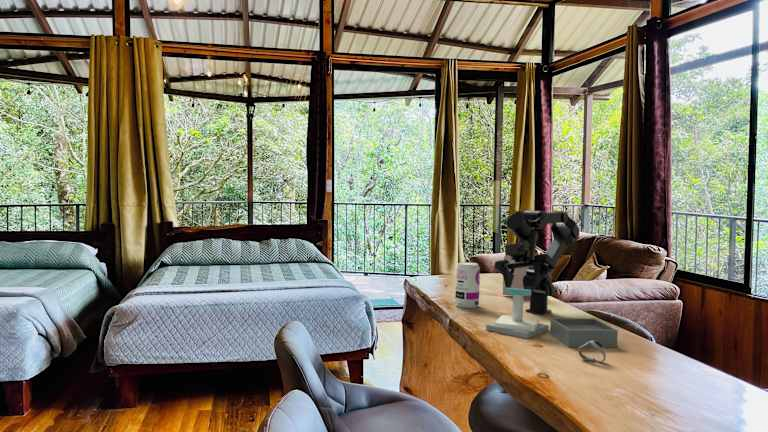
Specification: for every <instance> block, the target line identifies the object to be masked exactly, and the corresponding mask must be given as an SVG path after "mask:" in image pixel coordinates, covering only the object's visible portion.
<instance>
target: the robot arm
mask: <svg viewBox="0 0 768 432" xmlns="http://www.w3.org/2000/svg"><path fill="white" fill-rule="evenodd" d="M559 223H563V224H559ZM505 224H506V227H507V228H508V229H509V230H510V232H511V233H512V235H514V236H515V237H516V238H518V239H517V243H511V244H506V245H504V253H505V254H504V256H511V259H512V260H515V262H513V263H510V262H509V261H507V260H506V259H505V260H504V259H500V260H496V261H495V262H494V266H493V268H494V269H495V270H496V271H497V272H499V273H500V274H501V275H502V279H503V278H504V282H505V286H506V288H511V285H512V281H513V278H514V274H513V273H514V269H516V268H523V267H529V268H528V270H527V271H526V272H525V273H526V274H525V275H524V277H523V286H524V289H529V290H531V295H530V296H529V308H528V309H525V312H527V313H532V314H537V315H546V314H548V313H551V312H552V310H551V309H548V303H549V302H548V299H549V297H551V296H552V297H553V295H554V294H555V289H556V288H555V287H554V284H553V282H552V280H553V279H552V276H551V273H552V272H553V270H555V268H556V264H557V263H558V261H559V260H560V258H561V256H562V254H563V253H564V251H565V250H566V248H568V247H569V246H572V245H574V244H575V242H576V241H577V240H578V239H579V237H580V229H579V226H578V224H577V222H576V221H575V220H573V219H572V218H571V217H570V216H569V213H568V212H566V211H562V210H553V211H544V210H528V209H526V210H524V211H521V210H515V213H514V214H512V215H510V216H509V217H508V218H507V219H506V222H505ZM550 224H551V226H550V230H551V232H552V236H553V237H552V238H553V239H552V241H551V243H550V244H549V246H548V248H547V249H546V251H545V253H538V249H536V248H537V247H536V246H537V240H539V239H540V237H539V234H538V232H537V230H536V229H544V228H546V227H547V226H548V225H550Z"/></svg>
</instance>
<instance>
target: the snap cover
mask: <svg viewBox="0 0 768 432" xmlns="http://www.w3.org/2000/svg"><path fill="white" fill-rule="evenodd" d="M506 294H513V296H512V309H511V310H512V312H511V313H512V314H511V315H505V314H502V315H500V317H499V318H498V319H497V320H496V321H494V322H495V327H499V328H508V329H517V330H526V331H535V329H536V328H537V326H538V324H539V323H540V318H535V317H528V316H527V317H525V316H524V297H530V295H531V290H529V289H517V288H506ZM524 295H526V296H524Z"/></svg>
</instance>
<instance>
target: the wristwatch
mask: <svg viewBox="0 0 768 432" xmlns="http://www.w3.org/2000/svg"><path fill="white" fill-rule="evenodd" d="M588 344H591V345H593V347H592V348H594V349H596V350H598V351H599V352H600V353H601V354H602V357H603V359H602V360H597V359H596V358H592V357H589V356H587V355H584V354H583V353H582V351H581V349H583V348H585V347H584V346H586V345H588ZM578 355H579V357H580V358H582V360H583V361H586V362H589V363H594V362H597V363H596V364H602V363H603V362H605V361H606V358H607V355H606V351H605V347H603V346H602V345H601V344H600V343H598V342H597V341H589V342H587V343H586V344H584V345H582V346H580V347H578Z"/></svg>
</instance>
